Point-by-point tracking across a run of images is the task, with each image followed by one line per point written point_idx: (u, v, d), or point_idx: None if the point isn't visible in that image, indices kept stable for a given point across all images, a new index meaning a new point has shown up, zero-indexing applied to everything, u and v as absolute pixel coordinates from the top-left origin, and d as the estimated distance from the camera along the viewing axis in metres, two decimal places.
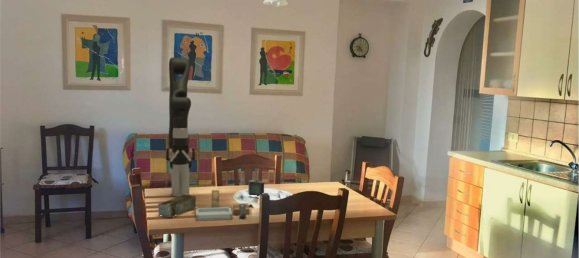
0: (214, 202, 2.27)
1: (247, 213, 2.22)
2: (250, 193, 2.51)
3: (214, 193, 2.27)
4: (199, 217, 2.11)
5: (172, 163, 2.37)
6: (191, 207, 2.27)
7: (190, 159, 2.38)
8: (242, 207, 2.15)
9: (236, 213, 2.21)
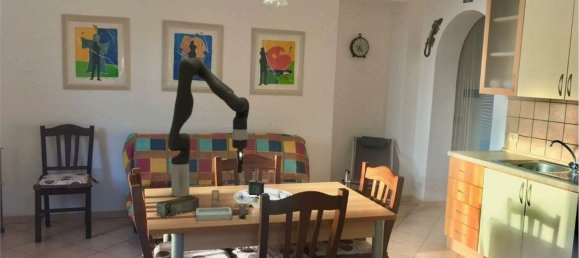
0: (214, 202, 2.28)
1: (246, 213, 2.21)
2: (250, 193, 2.51)
3: (214, 193, 2.27)
4: (199, 217, 2.11)
5: None
6: (192, 209, 2.25)
7: None
8: (242, 207, 2.15)
9: (235, 213, 2.21)
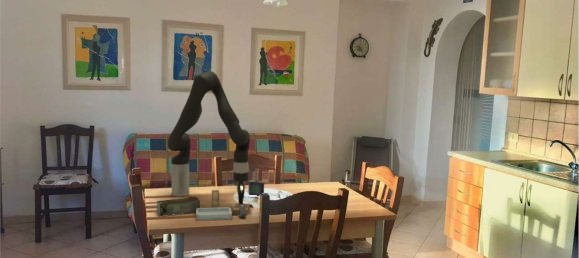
0: (214, 202, 2.27)
1: None
2: (250, 193, 2.51)
3: (214, 193, 2.27)
4: (199, 217, 2.11)
5: None
6: (192, 210, 2.22)
7: None
8: (242, 207, 2.15)
9: (234, 213, 2.20)
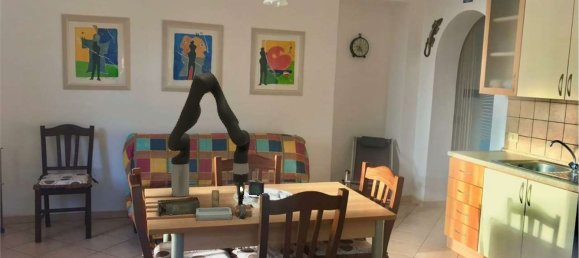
0: (214, 202, 2.28)
1: (249, 215, 2.19)
2: (250, 193, 2.51)
3: (214, 193, 2.27)
4: (199, 217, 2.11)
5: (242, 200, 2.29)
6: (191, 211, 2.21)
7: None
8: (242, 207, 2.15)
9: (238, 215, 2.18)
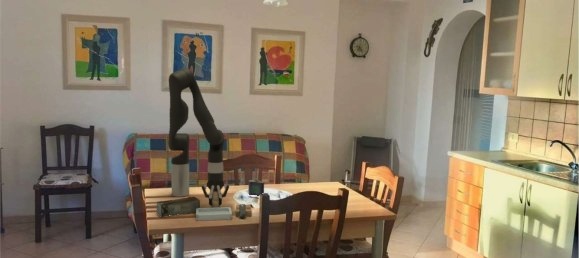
0: (214, 202, 2.27)
1: (249, 215, 2.19)
2: (250, 193, 2.51)
3: (214, 193, 2.27)
4: (199, 217, 2.11)
5: None
6: (192, 210, 2.22)
7: None
8: (242, 207, 2.15)
9: (238, 215, 2.18)
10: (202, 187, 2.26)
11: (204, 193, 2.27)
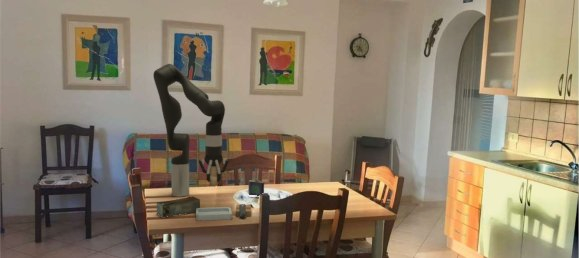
0: (212, 177, 2.14)
1: (249, 215, 2.18)
2: (250, 193, 2.51)
3: (212, 168, 2.13)
4: (199, 217, 2.11)
5: None
6: (193, 210, 2.22)
7: None
8: (242, 207, 2.15)
9: (238, 215, 2.18)
10: (199, 162, 2.12)
11: (201, 168, 2.13)
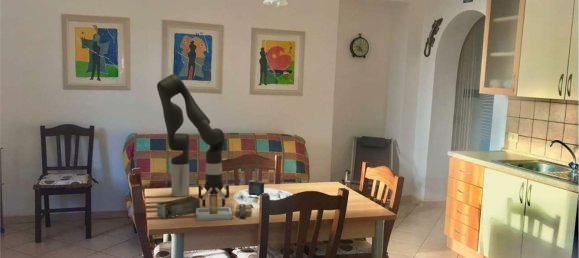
0: (212, 207, 2.15)
1: (249, 215, 2.18)
2: (250, 193, 2.51)
3: (212, 198, 2.15)
4: (199, 217, 2.11)
5: None
6: (193, 210, 2.23)
7: None
8: (242, 207, 2.15)
9: (237, 215, 2.18)
10: (199, 187, 2.14)
11: (199, 193, 2.14)
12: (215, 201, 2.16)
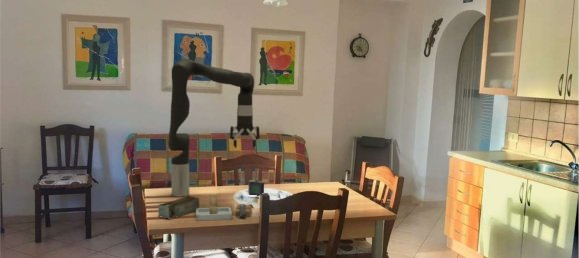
0: (212, 207, 2.15)
1: (248, 215, 2.18)
2: (250, 193, 2.51)
3: (212, 198, 2.15)
4: (199, 217, 2.11)
5: (252, 141, 2.30)
6: (193, 209, 2.24)
7: None
8: (242, 207, 2.15)
9: (237, 215, 2.18)
10: (231, 127, 2.25)
11: (230, 134, 2.25)
12: (215, 201, 2.15)
